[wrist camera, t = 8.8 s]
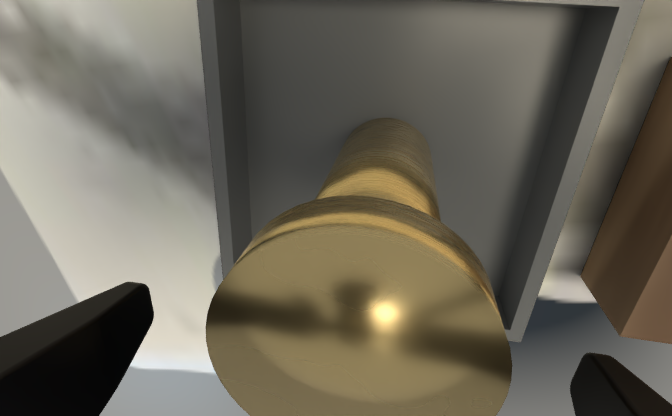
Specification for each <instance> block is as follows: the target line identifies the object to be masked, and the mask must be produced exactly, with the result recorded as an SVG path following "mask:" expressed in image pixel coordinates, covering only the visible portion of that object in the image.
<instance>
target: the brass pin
mask: <svg viewBox="0 0 672 416" xmlns="http://www.w3.org/2000/svg"><path fill="white" fill-rule="evenodd" d="M206 342H207V347H208V352H209V356H210V359H211V362H212V364H213V367H214V370H215V371H216V373H217V375H218V377H219V379H220V381H221V383H222V384H223V385H224V387H225V388H226V390H227V391H228V393H229V394H230V395H231V397H232V398H233V399H234V400H235V401H236V402H237V403H238V405H239V406H240V407H242V408H243V410H245V411H246V412H247V413H248V414H249V415H250V416H496V415H497V413H498V412H499V410H500V409H501V407H502V405H503V403H504V401H505V399H506V397H507V394H508V390H509V386H510V383H511V374H512V360H511V353H510V346H509V343H508V340H507V336H506V333H505V330H504V326H503V323H502V320H501V317H500V313H499V310H498V307H497V303H496V300H495V297H494V293H493V290H492V287H491V284H490V280H489V277H488V275H487V273H486V271H485V269H484V267H483V265H482V263H481V262H480V260H479V259H478V257H477V256H476V255H475V253H474V252H473V250H472V249H471V248H470V247H469V246H468V245H467V244H466V242H465V241H464V240H463V239H462V238H461V237H460V236H459V235H458V234H456V233H455V232H454V231H453V230H451V229H450V228H449V227H448V226H446V225H445V224H444V223H442V222H441V219H440V212H439V205H438V198H437V192H436V185H435V178H434V171H433V165H432V158H431V152H430V148H429V145H428V143H427V141H426V139H425V138H424V136H423V135H422V134H421V133H420V132H419V130H417V129H416V128H415V127H414V126H412V125H411V124H409V123H407V122H405V121H403V120H399V119H395V118H377V119H373V120H370V121H367V122H365V123H363V124H361V125H360V126H359V127H357V128H356V129H355V130H354V131H353V132H352V133H351V134H350V135H349V137H348V138H347V140H346V142H345V143H344V145H343V147H342V149H341V151H340V153H339V155H338V157H337V159H336V160H335V162H334V164H333V166H332V168H331V170H330V172H329V174H328V176H327V178H326V179H325V181H324V183H323V185H322V187H321V189H320V191H319V193H318V195H317V196H316V198H315V200H312V201H309V202H306V203H303V204H300V205H297V206H295V207H293V208H291V209H289V210H287V211H285V212H283V213H281V214H280V215H278V216H277V217H275V218H274V219H272V220H271V221H270V222H269V223H267V224H266V225H265V226H264V227H263V228H262V229H261V230H260V231H259V232H258V233H257V235H256V236H255V237H254V238H253V240H252V241H251V242H250V244H249V245H248V246H247V248H246V249H245V251H244V252H243V253H242V255H241V256H240V258H239V259H238V260H237V262H236V263H235V265H234V266H233V267H232V269H231V270H230V272H229V273H228V274H227V276H226V277H225V278H224V280H223V281H222V283H221V284H220V285H219V287H218V289H217V291H216V293H215V295H214V297H213V298H212V301H211V304H210V307H209V310H208V314H207V322H206Z"/></svg>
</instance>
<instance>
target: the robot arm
mask: <svg viewBox="0 0 672 416" xmlns="http://www.w3.org/2000/svg"><path fill="white" fill-rule="evenodd" d="M153 317H154V311H153V306H152V301H151V296H150V291H149V288H148V287H147V285H145V284H142V283H135V282H126V283H123V284H121V285H119V286H116V287H114V288H112V289H109V290H107V291H105V292H103V293H100V294H98V295H96V296H93V297H91V298H89V299H86V300H84V301H82V302H80V303H77V304H75V305H73V306H71V307H68V308H66V309H64V310H61V311H59V312H57V313H54V314H52V315H50V316H48V317H45V318H43V319H41V320H38V321H36V322H34V323H31V324H30V325H27V326H25V327H22V328H20V329H18V330H15V331H13V332H11V333H9V334H7V335H4V336H2V337H0V416H99V415H100V413H101V412H102V410H103V409H104V407H105V406H106V404H107V403H108V401H109V400H110V398H111V397H112V395H113V394H114V392H115V390H116V389H117V387H118V385H119V384H120V382H121V380H122V378H123V377H124V375H125V373H126V371H127V369H128V367H129V365H130V364H131V362H132V360H133V358H134V356H135V354H136V352H137V351H138V349H139V347H140V345H141V343H142V341H143V339H144V337H145V336H146V334H147V332H148V330H149V328H150V326H151V324H152V321H153ZM570 393H571V397H572V402H573V406H574V411H575V415H576V416H672V405H671V404H670V403H669V402H668V401H666V400H665V399H664V398H662V397H661V396H660V395H659V394H658V393H657V392H655V391H654V390H653V389H652V388H650V387H649V386H648V385H647V384H645V383H644V382H643V381H642V380H640V379H639V378H638V377H637V376H635V375H634V374H633V373H632V372H630V371H629V370H628V369H627V368H625V367H624V366H623V365H622V364H621V363H619V362H618V361H617V360H616V359H614V358H612V357H611V356H608V355H603V354H596V353H586V354H585V355H584V356H583V358H582V359H581V361H580V363H579V366H578V368H577V370H576V372H575V374H574V377H573V378H572V381H571V385H570Z"/></svg>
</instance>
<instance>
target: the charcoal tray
mask: <svg viewBox="0 0 672 416" xmlns="http://www.w3.org/2000/svg"><path fill="white" fill-rule="evenodd" d="M643 3H644V0H197V8H198V18H199V29H200V39H201V50H202V61H203V71H204V82H205V92H206V103H207V114H208V124H209V135H210V145H211V156H212V167H213V177H214V188H215V199H216V209H217V220H218V230H219V241H220V252H221V262H222V273H223V280H224V278H225V277H226V276H227V274H228V273H229V272H230V270H231V269H232V267H233V266H234V265H235V263H236V262H237V260H238V259H239V258H240V256H241V255H242V253H243V252H244V251H245V249H246V248H247V246H248V245H249V244H250V242H251V241H252V240H253V238H254V237H255V236H256V235H257V233H258V232H259V231H260V230H261V229H262V228H263V227H264V226H265V225H266V224H267V223H269V222H270V221H271V220H272V219H274V218H275V217H277V216H278V215H280V214H281V213H283V212H285V211H287V210H289V209H291V208H293V207H295V206H297V205H300V204H303V203H306V202H309V201H312V200H315V198H316V196H317V195H318V193H319V191H320V189H321V187H322V185H323V183H324V181H325V179H326V178H327V176H328V174H329V172H330V170H331V168H332V166H333V164H334V162H335V160H336V159H337V157H338V155H339V153H340V151H341V149H342V147H343V145H344V143H345V142H346V140H347V138H348V137H349V135H350V134H351V133H352V132H353V131H354V130H355V129H356V128H357V127H359V126H360V125H361V124H363V123H365V122H367V121H370V120H373V119H377V118H395V119H399V120H403V121H405V122H407V123H409V124H411V125H412V126H414V127H415V128H416V129H417V130H419V132H420V133H421V134H422V135H423V136H424V138H425V139H426V141H427V143H428V145H429V148H430V152H431V158H432V165H433V171H434V178H435V185H436V192H437V198H438V205H439V212H440V219H441V222H442V223H444V224H445V225H446V226H448V227H449V228H450V229H451V230H453V231H454V232H455V233H456V234H458V235H459V236H460V237H461V238H462V239H463V240H464V241H465V242H466V244H467V245H468V246H469V247H470V248H471V249H472V250H473V252H474V253H475V255H476V256H477V257H478V259H479V260H480V262H481V263H482V265H483V267H484V269H485V271H486V273H487V275H488V277H489V280H490V284H491V287H492V290H493V293H494V297H495V300H496V303H497V307H498V310H499V313H500V317H501V320H502V323H503V326H504V330H505V333H506V336H507V340H508V341H515V342H521V340H522V337H523V334H524V331H525V329H526V326H527V323H528V320H529V318H530V315H531V312H532V310H533V307H534V304H535V301H536V299H537V296H538V293H539V290H540V288H541V285H542V282H543V279H544V276H545V274H546V271H547V268H548V265H549V263H550V260H551V257H552V254H553V252H554V249H555V246H556V243H557V241H558V238H559V235H560V232H561V229H562V227H563V224H564V221H565V218H566V216H567V213H568V210H569V207H570V205H571V202H572V199H573V196H574V194H575V191H576V188H577V185H578V182H579V180H580V177H581V174H582V171H583V169H584V166H585V163H586V160H587V158H588V155H589V152H590V149H591V147H592V144H593V141H594V138H595V135H596V133H597V130H598V127H599V124H600V122H601V119H602V116H603V113H604V111H605V108H606V105H607V102H608V100H609V97H610V94H611V91H612V88H613V86H614V83H615V80H616V77H617V75H618V72H619V69H620V66H621V64H622V61H623V58H624V55H625V52H626V50H627V47H628V44H629V41H630V39H631V36H632V33H633V30H634V28H635V25H636V22H637V19H638V17H639V14H640V11H641V8H642V5H643Z"/></svg>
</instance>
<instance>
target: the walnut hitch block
mask: <svg viewBox="0 0 672 416" xmlns="http://www.w3.org/2000/svg"><path fill="white" fill-rule="evenodd" d="M580 277H581V278H582V280H583V281H584V283H585V284H586V286H587V287H588V289H589V290H590V292H591V293H592V295H593V296H594V298H595V299H596V301H597V302H598V304H599V305H600V306H601V308H602V310H603V311H604V313H605V314H606V316H607V317H608V319H609V320H610V322H611V324H612V325H613V326H614V328H615V329H616V331H617V333H618V334H619V335H620V336H622V337H628V338H635V339H641V340H648V341H655V342H662V343H668V344H672V57H671V58H670V60H669V62H668V65H667V67H666V70H665V72H664V75H663V77H662V79H661V82H660V84H659V87H658V89H657V92H656V94H655V96H654V99H653V101H652V104H651V106H650V109H649V111H648V113H647V116H646V118H645V121H644V123H643V126H642V128H641V130H640V133H639V135H638V138H637V140H636V143H635V145H634V147H633V150H632V152H631V155H630V157H629V159H628V162H627V164H626V167H625V169H624V172H623V174H622V176H621V179H620V181H619V184H618V186H617V189H616V191H615V193H614V196H613V198H612V201H611V203H610V206H609V208H608V210H607V213H606V215H605V218H604V220H603V223H602V225H601V227H600V230H599V232H598V235H597V237H596V240H595V242H594V244H593V247H592V249H591V252H590V254H589V256H588V259H587V261H586V264H585V266H584V269H583V271H582V273H581V276H580Z"/></svg>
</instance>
